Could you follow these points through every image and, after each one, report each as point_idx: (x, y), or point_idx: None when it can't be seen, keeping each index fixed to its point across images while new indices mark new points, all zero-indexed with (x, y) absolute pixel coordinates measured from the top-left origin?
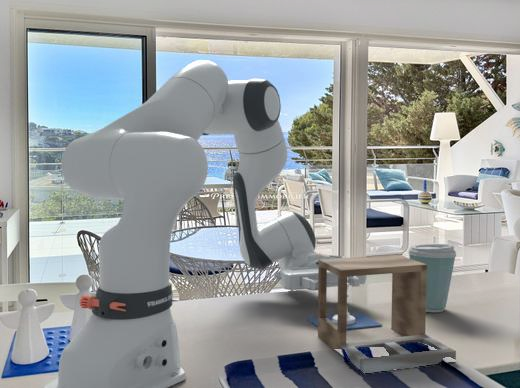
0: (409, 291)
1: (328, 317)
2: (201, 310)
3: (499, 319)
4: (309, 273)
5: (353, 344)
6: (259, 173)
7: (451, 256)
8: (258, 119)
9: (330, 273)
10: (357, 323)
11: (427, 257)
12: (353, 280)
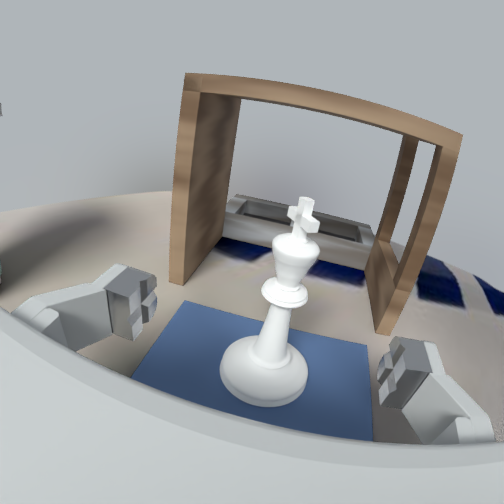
0: (221, 151)
1: (290, 428)
2: None
3: (3, 219)
4: (457, 447)
5: (360, 246)
6: None
7: None
8: None
9: (210, 411)
10: (237, 338)
11: (1, 115)
12: (155, 278)
